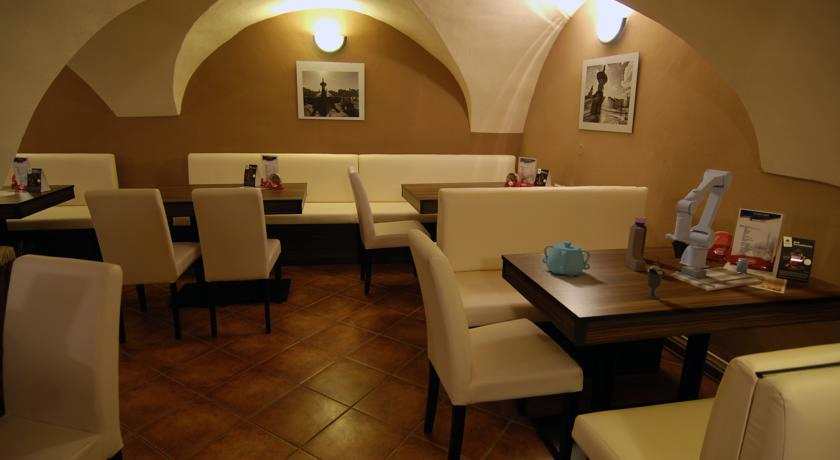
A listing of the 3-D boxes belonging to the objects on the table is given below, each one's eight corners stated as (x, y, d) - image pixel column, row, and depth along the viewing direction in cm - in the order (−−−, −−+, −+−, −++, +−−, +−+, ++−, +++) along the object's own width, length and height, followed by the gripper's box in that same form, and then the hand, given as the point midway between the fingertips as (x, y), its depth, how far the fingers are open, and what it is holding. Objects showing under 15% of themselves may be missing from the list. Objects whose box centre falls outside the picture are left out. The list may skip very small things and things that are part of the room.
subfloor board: (670, 275, 206) (671, 272, 206) (720, 269, 217) (721, 265, 216) (708, 290, 190) (708, 286, 189) (760, 282, 200) (761, 278, 200)
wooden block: (644, 271, 211) (650, 231, 207) (635, 271, 211) (640, 231, 206) (634, 264, 220) (639, 226, 215) (624, 265, 220) (629, 226, 215)
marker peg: (733, 271, 214) (735, 258, 213) (739, 270, 216) (742, 257, 214) (742, 274, 210) (744, 261, 209) (748, 273, 212) (751, 260, 210)
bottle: (628, 259, 228) (633, 218, 223) (626, 255, 235) (632, 215, 230) (643, 260, 226) (649, 219, 221) (641, 256, 233) (647, 216, 228)
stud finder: (680, 273, 206) (682, 265, 205) (691, 272, 208) (692, 264, 207) (695, 278, 200) (696, 270, 199) (705, 277, 202) (707, 269, 201)
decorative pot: (572, 265, 217) (574, 236, 214) (592, 277, 202) (595, 246, 199) (538, 267, 214) (541, 237, 211) (556, 279, 199) (559, 247, 195)
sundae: (655, 293, 186) (661, 256, 182) (665, 300, 179) (671, 262, 175) (639, 293, 185) (644, 256, 182) (647, 300, 179) (653, 261, 175)
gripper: (662, 224, 212) (657, 254, 215) (690, 232, 199) (685, 263, 202) (674, 223, 214) (669, 252, 218) (703, 231, 201) (697, 262, 205)
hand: (677, 258), depth 210 cm, fingers closed
